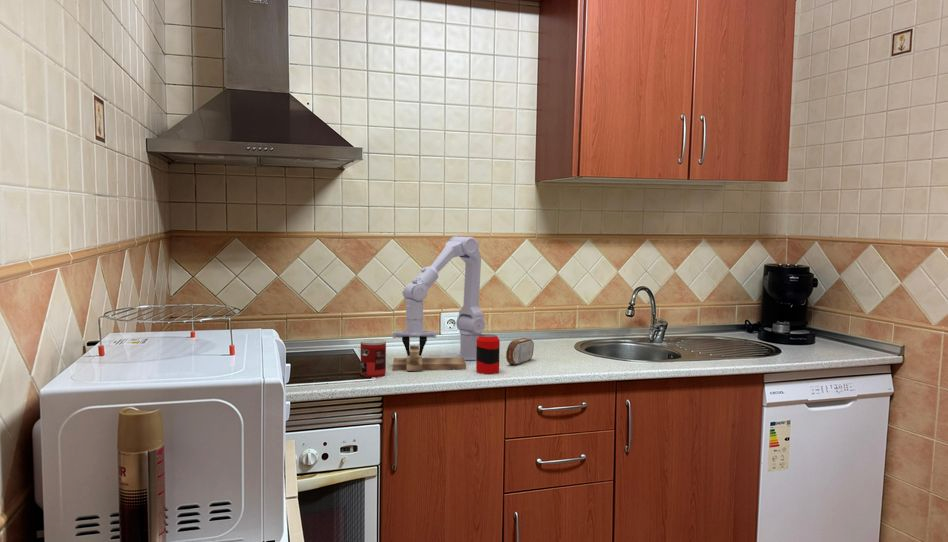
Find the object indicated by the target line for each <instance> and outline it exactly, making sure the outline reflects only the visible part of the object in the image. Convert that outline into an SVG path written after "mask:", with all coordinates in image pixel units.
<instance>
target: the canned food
mask: <svg viewBox="0 0 948 542" xmlns="http://www.w3.org/2000/svg"><path fill="white" fill-rule="evenodd" d="M386 367H387V342H386V340H385V339H382V338H366V339H365V338H364V339H362V340H360V375H361V376H362V375H363V376H366V377H365V378H369V377H375V378H381V377H384V376H385V375H386V373H387V368H386ZM363 376H362V377H363Z"/></svg>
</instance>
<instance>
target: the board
mask: <svg viewBox="0 0 948 542" xmlns="http://www.w3.org/2000/svg"><path fill="white" fill-rule="evenodd" d="M453 369H466V370H467V364H466V360H464V358H459V357H422V371H454V370H453ZM392 371H407V357H394V358H393V362H392Z"/></svg>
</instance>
